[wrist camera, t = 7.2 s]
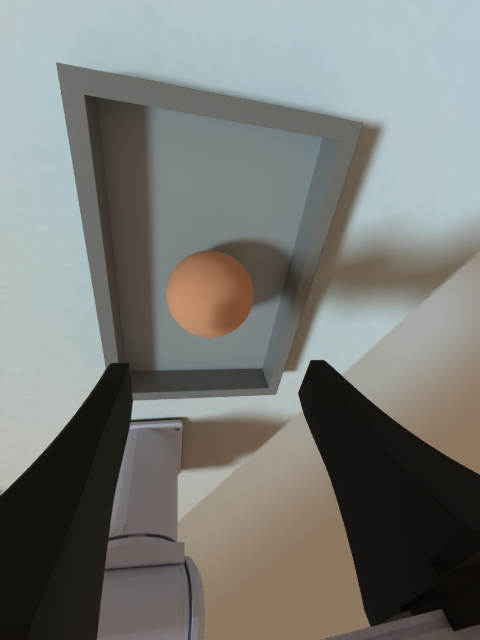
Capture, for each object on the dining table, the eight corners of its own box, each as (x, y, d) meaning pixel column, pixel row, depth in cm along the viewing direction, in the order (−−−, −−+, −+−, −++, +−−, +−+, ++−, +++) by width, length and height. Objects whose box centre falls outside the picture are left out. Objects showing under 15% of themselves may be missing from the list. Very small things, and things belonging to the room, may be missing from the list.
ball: (238, 308, 21) (254, 354, 17) (166, 307, 19) (165, 357, 15) (249, 240, 18) (272, 276, 14) (166, 234, 17) (165, 272, 13)
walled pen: (268, 372, 26) (275, 394, 24) (117, 376, 23) (111, 401, 21) (338, 121, 15) (363, 123, 13) (76, 70, 12) (56, 62, 10)
